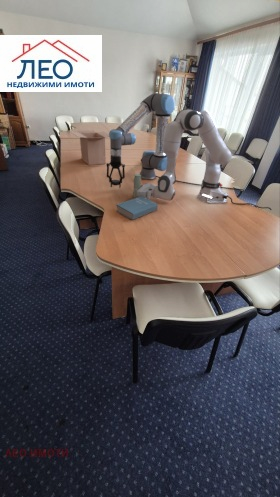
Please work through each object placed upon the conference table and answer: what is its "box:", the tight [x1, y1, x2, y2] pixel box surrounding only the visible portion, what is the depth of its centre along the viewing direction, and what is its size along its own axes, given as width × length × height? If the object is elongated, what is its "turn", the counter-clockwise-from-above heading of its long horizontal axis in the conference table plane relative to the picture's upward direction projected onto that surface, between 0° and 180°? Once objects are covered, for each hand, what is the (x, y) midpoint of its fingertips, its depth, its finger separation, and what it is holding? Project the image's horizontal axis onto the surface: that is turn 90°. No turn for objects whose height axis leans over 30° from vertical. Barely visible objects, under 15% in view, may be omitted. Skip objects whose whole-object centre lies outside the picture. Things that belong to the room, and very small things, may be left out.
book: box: [116, 196, 159, 221], centre depth 148 cm, size 23×16×5 cm
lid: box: [112, 179, 119, 187], centre depth 168 cm, size 6×6×2 cm
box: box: [70, 129, 110, 166], centre depth 229 cm, size 44×36×27 cm
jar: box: [132, 173, 142, 198], centre depth 165 cm, size 5×5×16 cm
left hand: (115, 186), depth 170 cm, fingers closed on lid, 6 cm apart
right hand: (135, 187), depth 166 cm, fingers closed on jar, 5 cm apart
